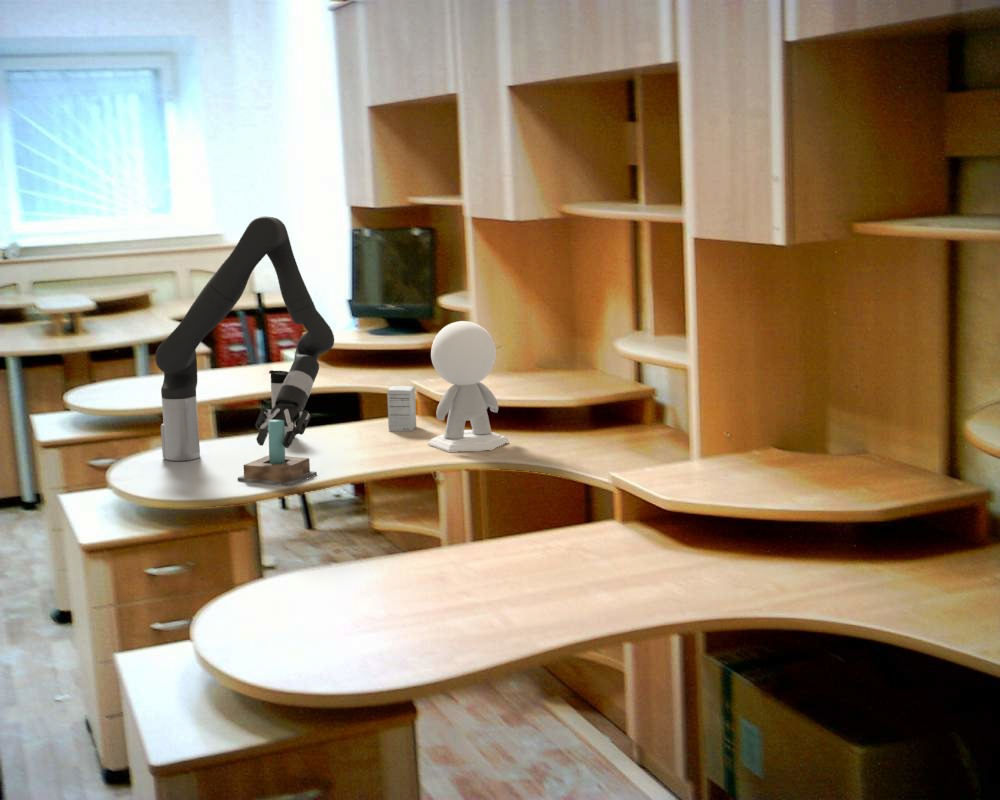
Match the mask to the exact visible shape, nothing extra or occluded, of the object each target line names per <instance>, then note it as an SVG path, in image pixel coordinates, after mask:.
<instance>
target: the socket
mask: <svg viewBox="0 0 1000 800" xmlns="http://www.w3.org/2000/svg"><path fill="white" fill-rule="evenodd" d="M310 467H311V466H310V458H309V457H301V456H288V455H287V456H286V455H285V463H283V464H280V465H278V464H269V454H268V455H266V456H263V457H260V458H257V459H255V460H253V461H250V462H248V463H244V464H243V475H241V476H239V477H237V482H238V481H239V482H248V483H258V484H268V485H277V484H281V485H280V486H287V485H290V487H292V486H294V484H295V485H297V484H298V483H301V481H302V482H304V481H305V479H306V480H308V479H310V477H311V478H313V477H315V476H317V474H318V473H317V471H311V468H310ZM314 475H315V476H314ZM312 476H313V477H312ZM307 478H308V479H307ZM303 480H304V481H303ZM296 483H297V484H296Z"/></svg>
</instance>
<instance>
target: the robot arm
mask: <svg viewBox="0 0 1000 800" xmlns="http://www.w3.org/2000/svg"><path fill="white" fill-rule="evenodd" d="M266 255H267V257H268V258H269V260H270V262H271V263H272V267H273V268H274V270H275V271H274V272H275V273H276V275H277V276H276V277H277V280H278V281H277V282H278V285H279V290H280V293H281V297H282V301H283V302H284V305H285V307H286V310H287V312H288V314H289V316H290V318H291V320H292V322H293V323H294V324H295V325H302V326H303V327H304V329H306V331H307V332H305V333H303V334H302V335H301V336H300V338H299V340H298V342H297V344H296V347H295V353H294V360H293V362H292V364H291V367H290V369H289V371H288V372H289V373H288V375H287V376H286V378H285V380H284V382H283V384H282V387H281V389H280V391H279V394H278V396H277V398H276V402H275V406H274V407H273V408H272V407H271V409H270V408H269V409H267V408H266V407H265V406H264V407H262V408H261V409H260V411H259V412H260V413H259V414H258V417H257V419H256V421H255V427H256V429H258V433H257V437H256V438H255V440H256V443H257V444H258V445H259V446H262V447H263V446H264V444H265V442H266V440H267V437H268V436H269V429H268V421H269V420H275V419H279V420H284V426H286V427H288V429H289V432H288V431H287V433H286V436H285V438H284V440H283V445H284V447H285V449H286V448H289V447H290V446H291V445H292V444H293V441H294V439H295V437H296V436H297V435H303V434H304V433H305V431H306V429H307V426H308V424H309V422H310V420H311V417H312V416H311V414H310V413H309V412H308V410H306V409H305V407H306V405H307V402H308V399H309V397H310V395H311V392H312V389H313V385H314V383H315V380H316V378H317V376H318V373H319V371H320V364H319V361H318V359H319V358H320V357H319V356H321V355H323V354H325V353H326V352H328V351H330V350H331V349H332V348H333V347H334V344H335V335H334V332H333V330H332V328H331V327H330V325H329V324H328V322H327V321H326V320H325V319H324V317H323V316H322V315H321V313H319V311H318V309H317V308H316V306H315V303H314V302H313V298H312V297H311V295H310V292H309V290H308V288H307V286H306V284H305V281H304V279H303V277H302V275H301V272H300V269H299V266H298V263H297V261H296V258H295V255H294V252H293V247H292V245H291V240H290V237H289V234H288V231H287V227H286V225H285V224H284V222H283V221H282V220H280V219H279V218H277V217H275V216H274V217H273V216H266V215H265V216H263V215H262V216H257V217H256V218H254V219H253V220H251V221H250V223H249V224H248V225H247V227H246V229H245V230H244V232H243V234H242V236H241V237H240V239H239V241H238V242H237V244H236V245H235V247H234V249H233V250H232V252H231V253H230V254H229V256H227V258H226V259H225V260H224V262H223V263H222V264H221V265H220V267H219V268H218V269H217V270H216V272H215V273H214V275H212V277H211V278H210V279H209V280H208V282H207V283H206V285H204V287H203V288H202V289H201V291H200V293H199V294H198V295H197V297H196V299H194V302H193V303H192V305H191V306H190V308H189V309H188V311H187V313H186V314H185V315H184V317H183V318H182V320H181V322H180V323H179V324H178V325H177V326H176V327H175V328H174V330H173V331H172V332H171V333H170V334H169V335H167V337H166V338H165V340H163V341H162V342H161V343H160V344H159V346H158V347H157V349H156V351H155V356H154V358H155V363H156V367H157V368H158V369H159V370H160V371H161V372H162V373H163V381H162V385H161V388H160V389H161V390H160V393H161V407H162V419H163V420H162V422H163V423H161V424H160V433H161V434H160V435H161V436H160V437H161V439H160V440H161V450H162V451H161V452H162V459H165V460H167V461H171V462H172V461H173V462H182V461H192V460H195V459H198V458H200V457H201V449H200V447H201V446H200V435H199V433H200V432H199V431H200V430H199V416H198V404H197V403H198V401H197V386H198V358H197V351H196V350H197V348H198V346H199V345H200V344H201V342H202V341H203V340H204V338H205V337H206V336H207V335H208V334H209V333H210V332H212V331H213V329H214V328H216V327H217V326H218V325H220V323H221V322H222V321H223V320H224V319H225V318H226V317H227V316H228V315H229V313H230V312H231V311H232V310H233V308H234V307H235V305H237V304H238V301H240V298H242V295H243V294H244V292H245V289H246V286H247V285H248V283H249V280H250V276H251V274H252V272H253V271H254V270H255V268H256V267H257V265H258V264H259V263H260V262H261V261H262V260H263V258H264V257H265V256H266ZM297 420H298V422H297V424H296V421H297Z"/></svg>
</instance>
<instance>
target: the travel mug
mask: <svg viewBox="0 0 1000 800" xmlns="http://www.w3.org/2000/svg"><path fill="white" fill-rule="evenodd" d="M288 373H289V371H285V370H273V369H271V370H269V371H268V374H270V394H271V409H272V408H273V407H274V406H275V402H276V398H277V396H278V394H279V391H280V389H281V387H282V384H283V382H284V380H285V378H286V376H287V375H288ZM287 431H288V432H289V429H288V427H286V426H284V432H285V436H286V433H287Z"/></svg>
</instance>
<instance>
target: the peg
mask: <svg viewBox="0 0 1000 800" xmlns="http://www.w3.org/2000/svg"><path fill="white" fill-rule="evenodd" d="M267 427H268V429H269V432H268V455H269V464H278V465H280V464H283V463H285V456H286V448H285V447H284V445H283V440H284V438H285V432H284V420H279V419H275V420H269V421H268V426H267Z"/></svg>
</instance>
